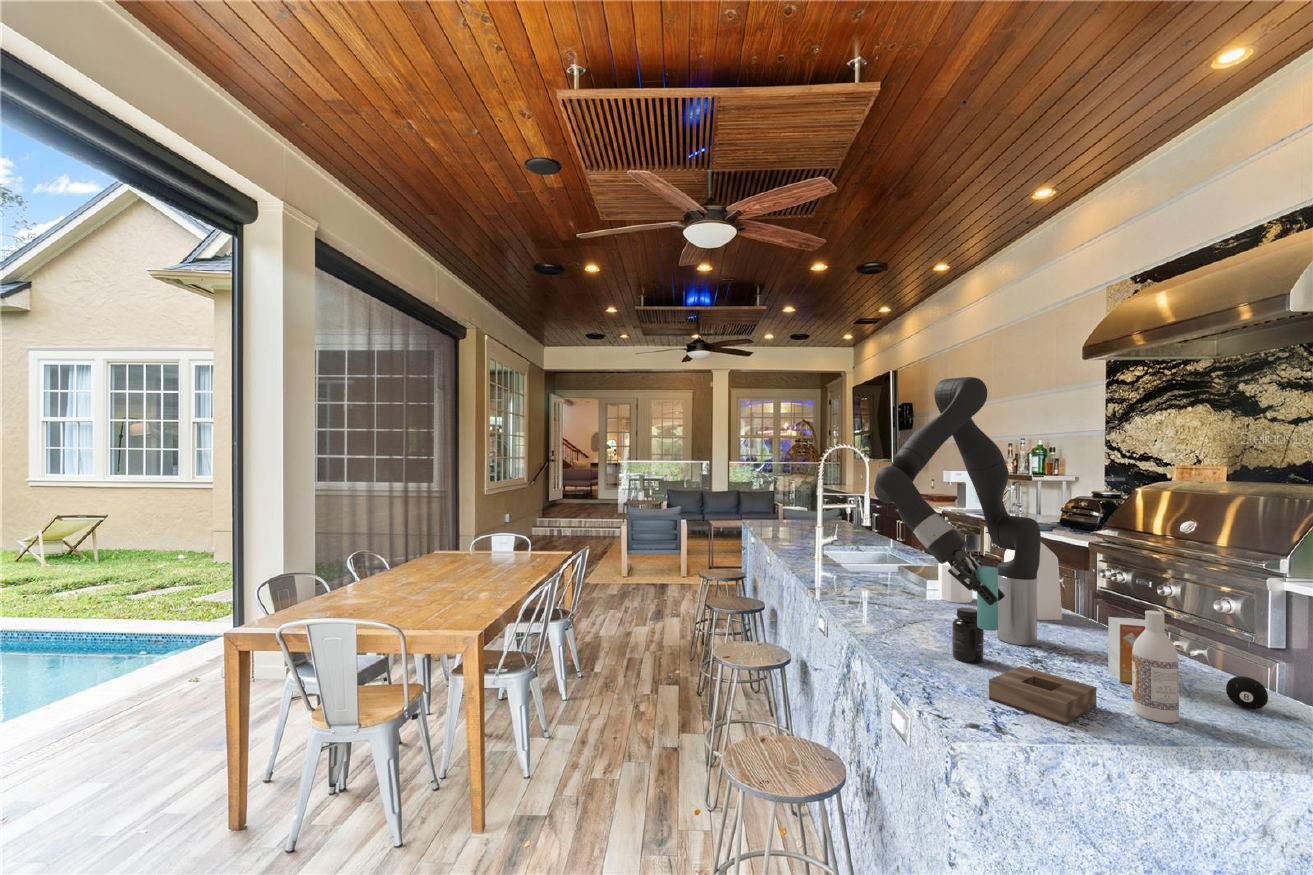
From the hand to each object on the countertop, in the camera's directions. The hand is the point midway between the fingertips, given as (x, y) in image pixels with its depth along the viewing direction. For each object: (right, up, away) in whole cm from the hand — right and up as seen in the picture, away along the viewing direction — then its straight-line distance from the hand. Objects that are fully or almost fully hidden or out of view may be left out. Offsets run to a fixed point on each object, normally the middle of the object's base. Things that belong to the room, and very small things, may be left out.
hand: (997, 600), depth 129 cm
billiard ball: (+45, -19, -9) cm, 49 cm away
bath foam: (+23, -19, -13) cm, 33 cm away
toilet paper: (+29, -20, +76) cm, 83 cm away
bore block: (+5, -19, -8) cm, 21 cm away
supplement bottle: (+3, -19, +18) cm, 27 cm away
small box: (+34, -19, +5) cm, 39 cm away
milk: (+43, -20, +58) cm, 75 cm away
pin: (-1, -6, +1) cm, 7 cm away
